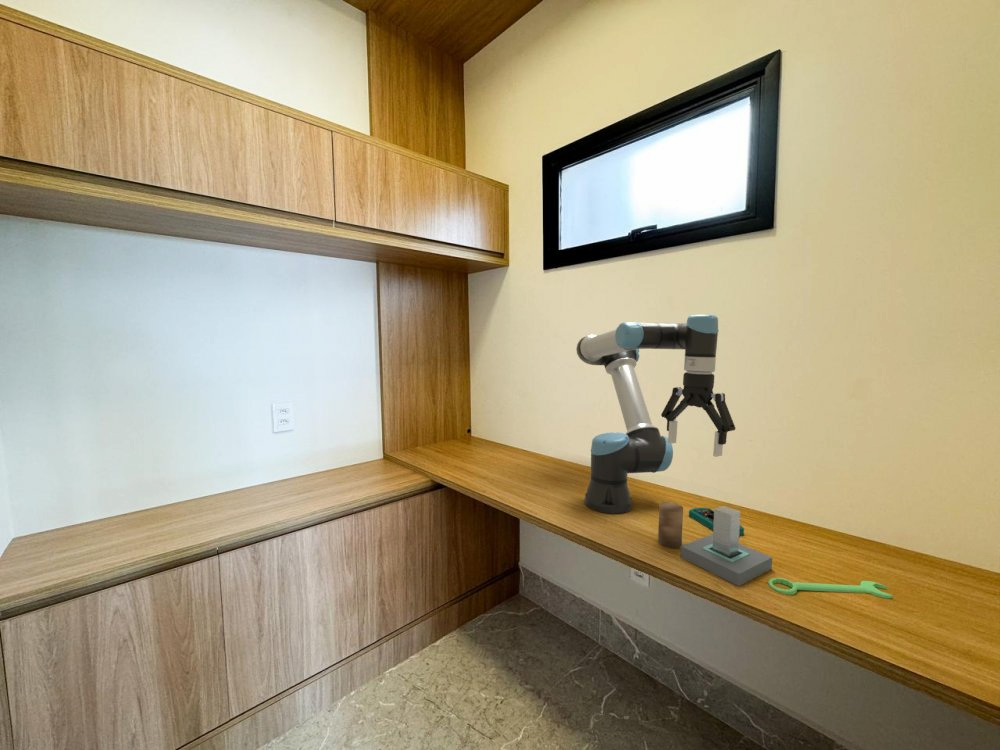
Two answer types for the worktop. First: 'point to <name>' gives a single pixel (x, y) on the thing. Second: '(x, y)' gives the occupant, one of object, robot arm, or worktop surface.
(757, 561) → the socket plate
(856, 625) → the worktop surface
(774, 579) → the wrench
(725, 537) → the square bit
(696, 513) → the digital multimeter
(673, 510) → the round dowel
